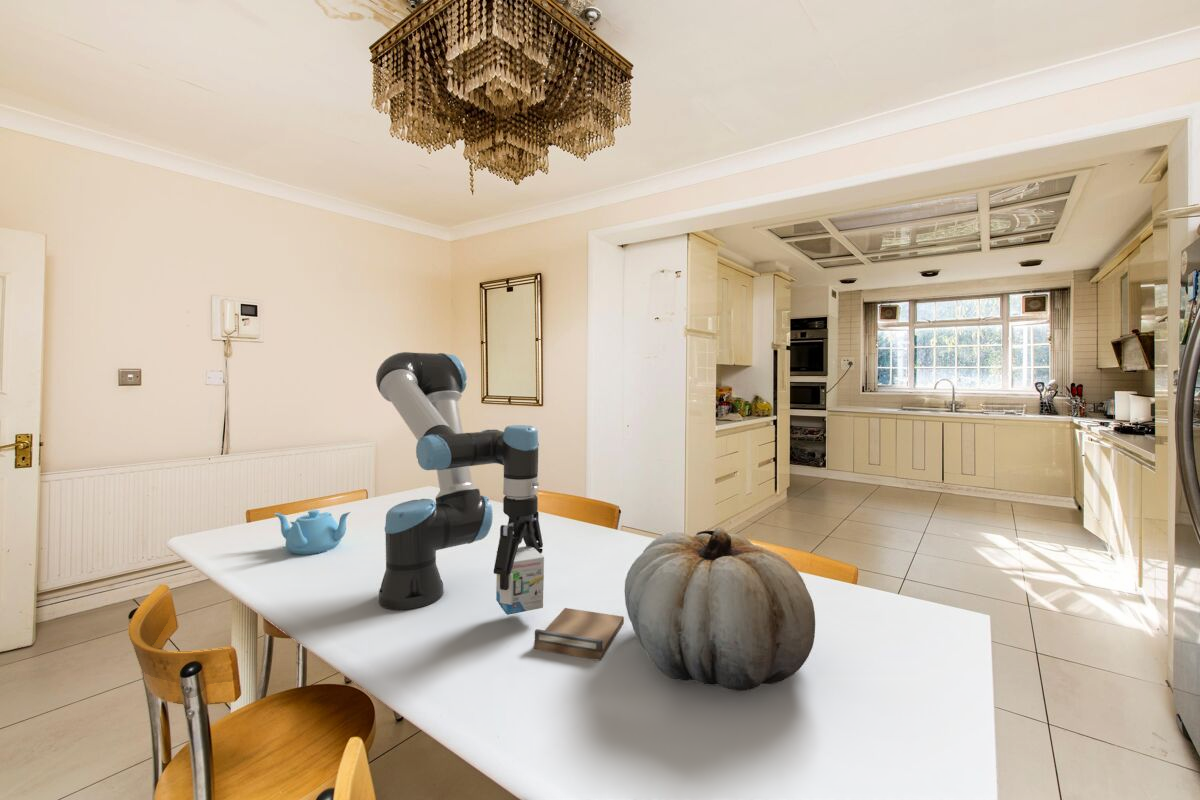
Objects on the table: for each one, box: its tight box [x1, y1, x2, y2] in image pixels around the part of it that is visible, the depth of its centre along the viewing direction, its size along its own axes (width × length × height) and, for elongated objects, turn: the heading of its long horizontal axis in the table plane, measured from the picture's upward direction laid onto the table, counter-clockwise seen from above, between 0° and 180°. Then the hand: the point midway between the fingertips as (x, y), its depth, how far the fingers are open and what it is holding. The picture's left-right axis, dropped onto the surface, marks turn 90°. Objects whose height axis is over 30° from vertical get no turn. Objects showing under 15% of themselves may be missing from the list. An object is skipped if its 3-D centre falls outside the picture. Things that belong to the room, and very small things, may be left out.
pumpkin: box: [624, 527, 816, 692], centre depth 98 cm, size 37×36×25 cm
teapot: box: [273, 509, 351, 555], centre depth 164 cm, size 17×19×12 cm
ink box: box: [495, 545, 545, 616], centre depth 113 cm, size 8×8×12 cm
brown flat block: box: [533, 607, 625, 661], centre depth 106 cm, size 14×16×4 cm
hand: (519, 591), depth 113 cm, fingers closed on ink box, 11 cm apart
